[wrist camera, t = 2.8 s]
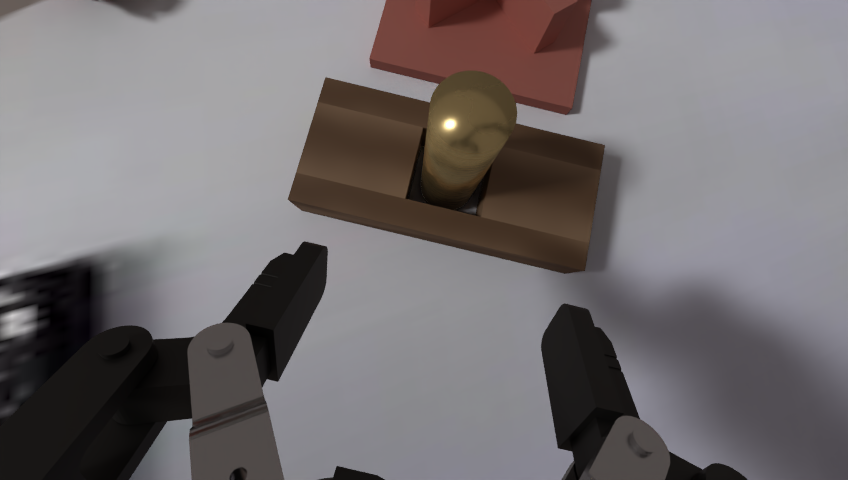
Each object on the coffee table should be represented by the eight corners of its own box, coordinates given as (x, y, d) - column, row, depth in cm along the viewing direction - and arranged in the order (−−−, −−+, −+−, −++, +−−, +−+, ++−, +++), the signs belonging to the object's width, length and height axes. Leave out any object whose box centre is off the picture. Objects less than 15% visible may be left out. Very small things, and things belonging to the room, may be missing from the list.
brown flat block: (564, 273, 26) (584, 270, 23) (301, 210, 26) (287, 199, 23) (583, 161, 28) (604, 145, 25) (334, 100, 28) (325, 77, 25)
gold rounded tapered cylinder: (443, 149, 27) (467, 54, 17) (483, 182, 27) (534, 107, 16) (409, 187, 27) (411, 114, 16) (450, 221, 27) (480, 170, 16)
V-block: (566, 114, 28) (599, 76, 23) (370, 67, 28) (363, 18, 23) (589, -13, 30) (625, -73, 25) (406, -58, 30) (406, -128, 25)
